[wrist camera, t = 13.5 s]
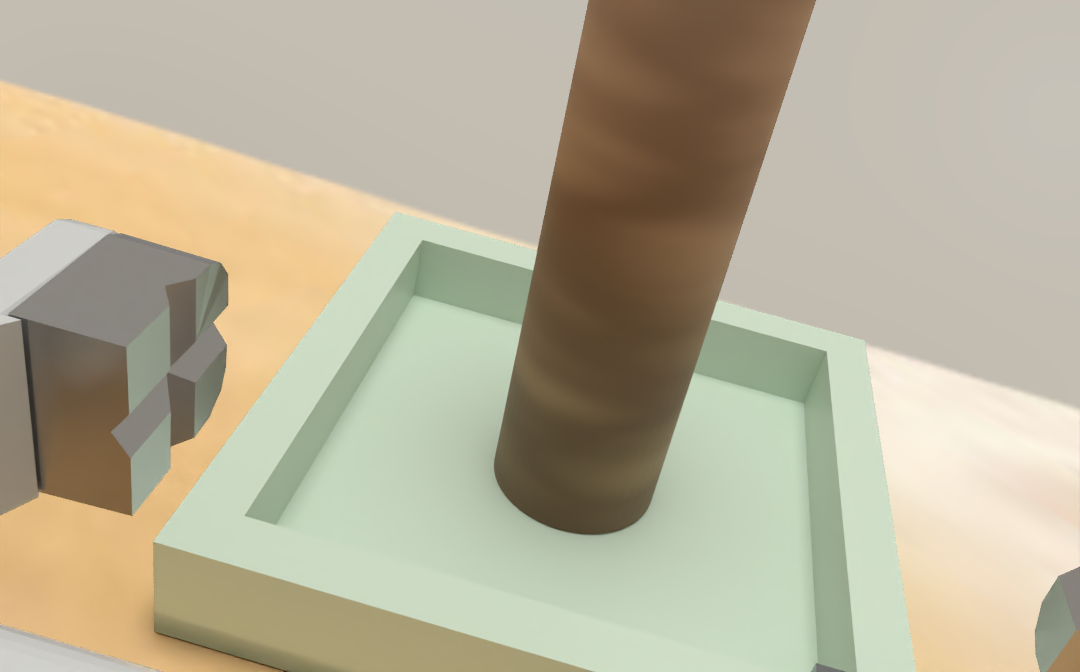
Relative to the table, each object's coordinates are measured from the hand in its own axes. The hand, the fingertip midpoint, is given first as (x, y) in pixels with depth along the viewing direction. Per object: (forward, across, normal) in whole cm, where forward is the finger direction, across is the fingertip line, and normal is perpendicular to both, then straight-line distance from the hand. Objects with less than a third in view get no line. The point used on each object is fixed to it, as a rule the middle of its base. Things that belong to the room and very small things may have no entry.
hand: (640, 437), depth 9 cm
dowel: (+12, 0, +11) cm, 16 cm away
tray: (+12, 0, +11) cm, 16 cm away
